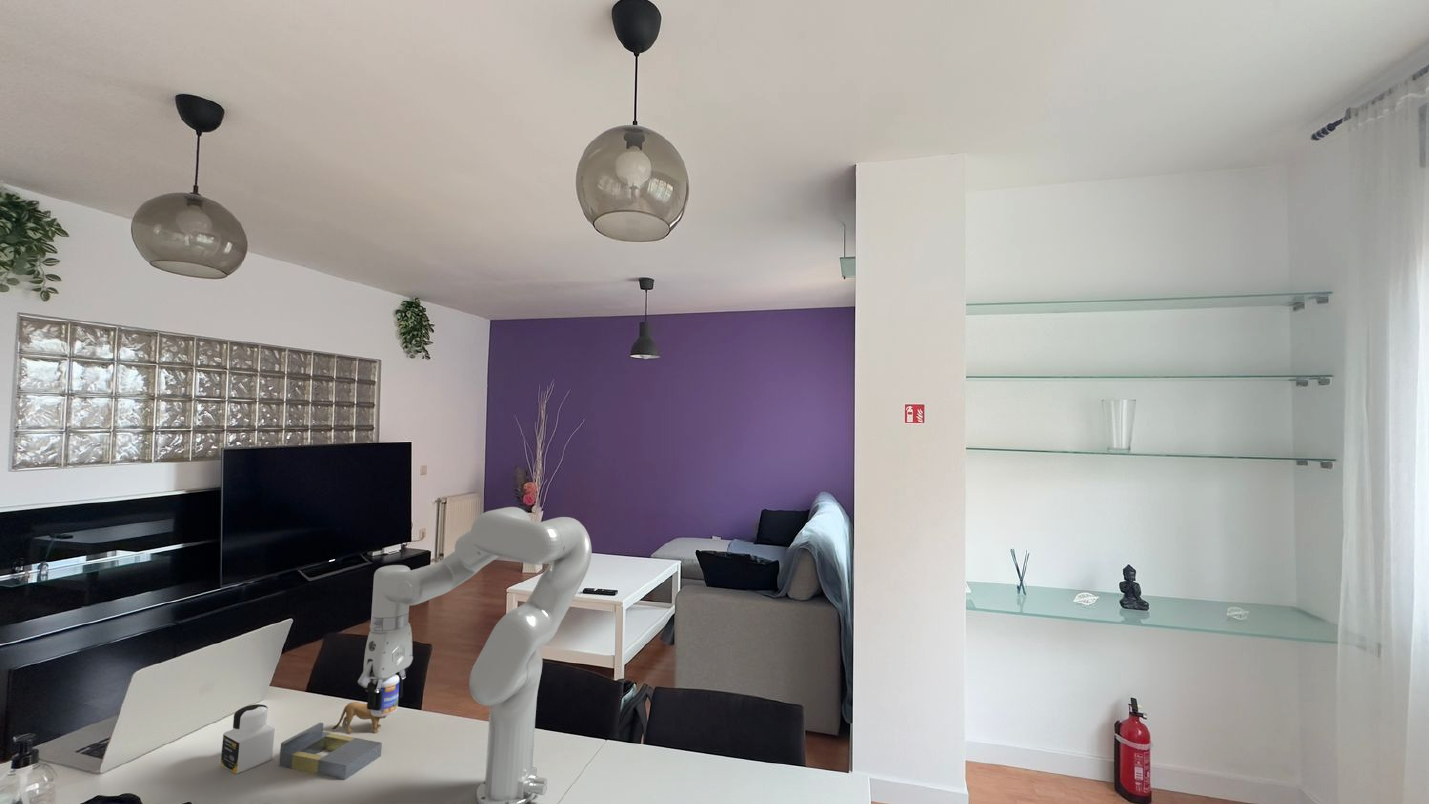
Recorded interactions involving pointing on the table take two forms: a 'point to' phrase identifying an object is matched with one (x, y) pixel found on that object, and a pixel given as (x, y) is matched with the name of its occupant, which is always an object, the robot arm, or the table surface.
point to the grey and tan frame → (338, 763)
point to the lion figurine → (361, 713)
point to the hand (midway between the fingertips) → (384, 702)
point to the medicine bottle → (248, 740)
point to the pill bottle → (388, 696)
